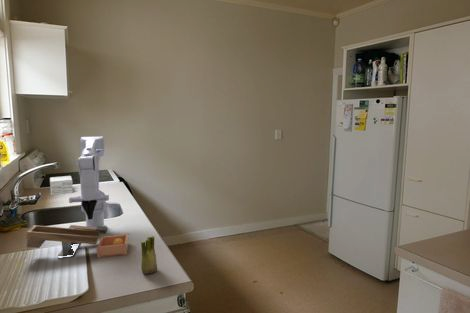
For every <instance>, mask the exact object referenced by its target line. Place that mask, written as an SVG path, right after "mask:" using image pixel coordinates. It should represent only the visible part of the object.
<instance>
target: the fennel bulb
mask: <svg viewBox="0 0 470 313" xmlns="http://www.w3.org/2000/svg"><path fill="white" fill-rule="evenodd" d="M140 244H141V245H140V246H141V264H140V267H141V268H140V269H141V272H142V274H144V275H147V274H148V275H149V274H154V273H155V272H157V269H158V264H157V262H158V261H157V254H156V249H155V236H154V235H153V236H147V238H146V239H145V240H142V241H141V242H140Z"/></svg>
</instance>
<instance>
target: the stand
mask: <svg viewBox="0 0 470 313" xmlns="http://www.w3.org/2000/svg"><path fill="white" fill-rule="evenodd" d="M73 244H80V245H81V244H82V243H72V242H61V251H60V252H59V254H58V256H67V255H73V253H74V251H73V249H71V248H72V246H71V245H73ZM58 256H57V257H58Z"/></svg>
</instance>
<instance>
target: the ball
mask: <svg viewBox="0 0 470 313" xmlns="http://www.w3.org/2000/svg"><path fill="white" fill-rule="evenodd" d="M119 244H124V242H123V240H122V239H119V238H118V239H116V240H114V242H113V245H119Z"/></svg>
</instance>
